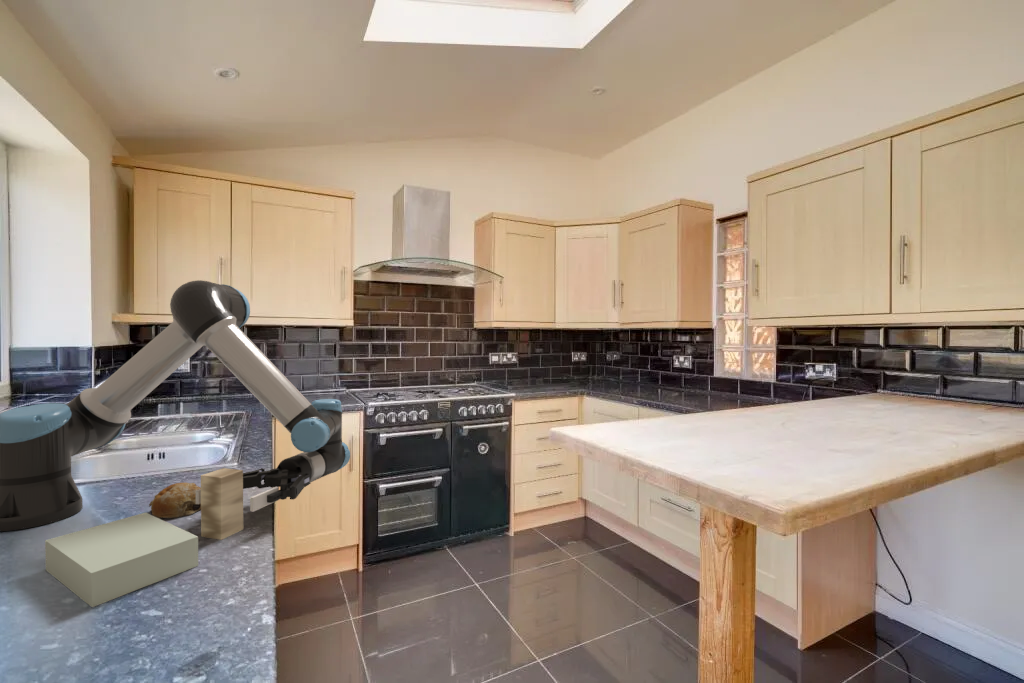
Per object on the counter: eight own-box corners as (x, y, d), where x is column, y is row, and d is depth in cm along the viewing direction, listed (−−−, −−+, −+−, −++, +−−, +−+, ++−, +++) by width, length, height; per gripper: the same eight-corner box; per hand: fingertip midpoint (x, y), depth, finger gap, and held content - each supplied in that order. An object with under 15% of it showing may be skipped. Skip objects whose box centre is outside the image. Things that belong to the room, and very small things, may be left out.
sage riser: (45, 570, 77) (45, 540, 77) (145, 538, 89) (145, 512, 89) (91, 607, 67) (91, 573, 67) (198, 565, 79) (198, 536, 79)
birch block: (201, 536, 90) (200, 475, 90) (223, 526, 95) (223, 468, 94) (221, 539, 89) (220, 477, 88) (243, 529, 93) (242, 470, 93)
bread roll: (169, 538, 97) (182, 505, 97) (133, 513, 99) (145, 481, 98) (209, 519, 107) (221, 489, 106) (175, 497, 109) (187, 468, 108)
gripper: (345, 490, 108) (276, 527, 88) (258, 480, 115) (175, 512, 95) (344, 458, 108) (275, 488, 88) (258, 450, 115) (175, 476, 95)
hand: (223, 501), depth 91 cm, fingers open, 13 cm apart
